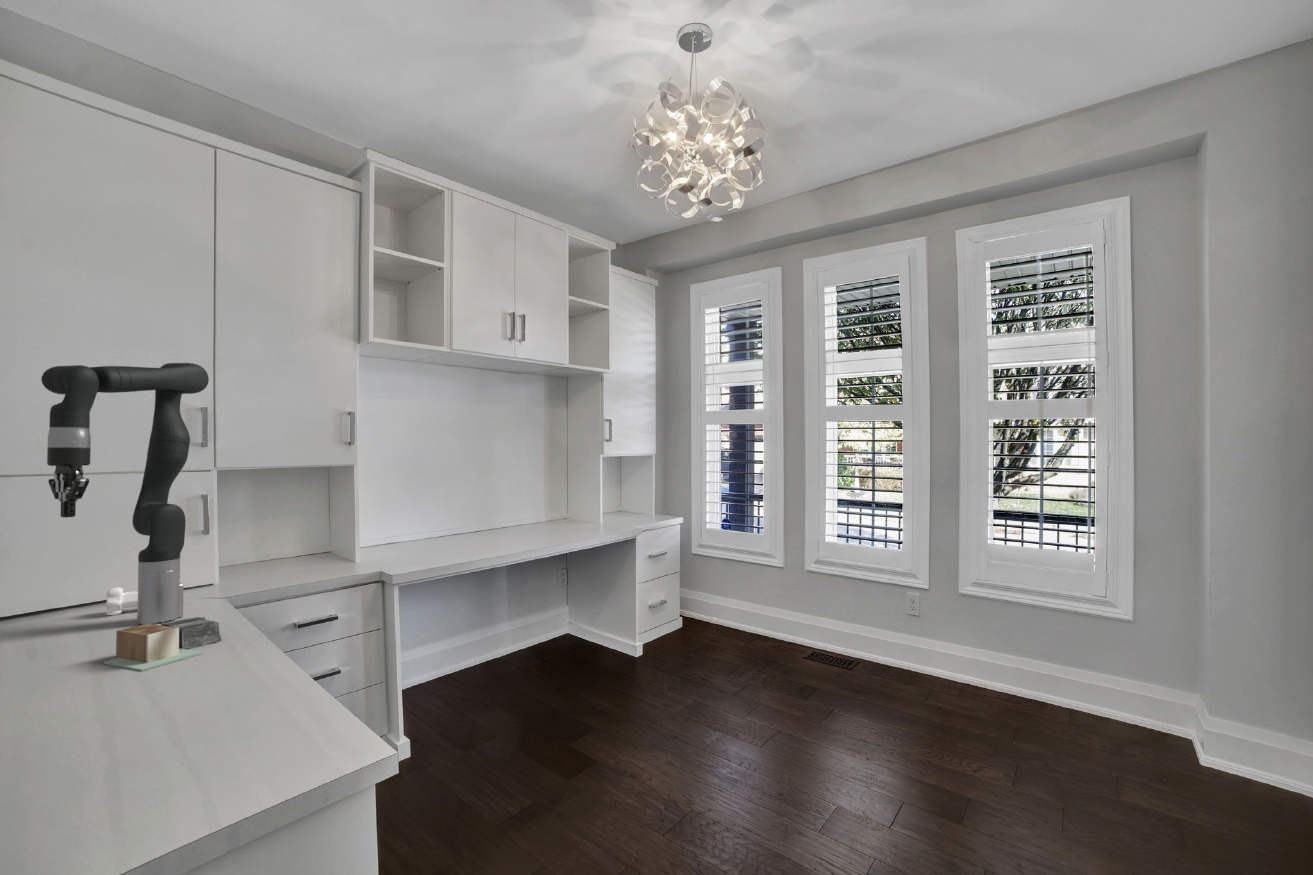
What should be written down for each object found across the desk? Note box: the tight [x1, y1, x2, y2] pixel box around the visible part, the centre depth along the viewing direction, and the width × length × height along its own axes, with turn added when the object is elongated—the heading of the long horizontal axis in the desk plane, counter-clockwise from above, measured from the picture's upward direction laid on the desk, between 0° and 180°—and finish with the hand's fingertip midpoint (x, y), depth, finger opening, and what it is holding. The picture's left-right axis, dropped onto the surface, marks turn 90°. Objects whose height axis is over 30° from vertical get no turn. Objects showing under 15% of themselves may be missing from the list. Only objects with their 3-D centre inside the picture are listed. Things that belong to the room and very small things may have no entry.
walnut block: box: [115, 624, 179, 663], centre depth 136 cm, size 6×6×12 cm
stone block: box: [160, 616, 222, 650], centre depth 148 cm, size 9×14×5 cm, turn 56°
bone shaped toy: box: [105, 586, 138, 616], centre depth 179 cm, size 15×9×8 cm, turn 127°
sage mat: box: [103, 648, 203, 672], centre depth 135 cm, size 12×14×1 cm
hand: (67, 516), depth 144 cm, fingers closed
